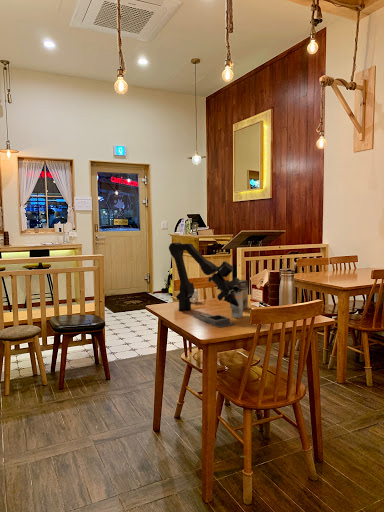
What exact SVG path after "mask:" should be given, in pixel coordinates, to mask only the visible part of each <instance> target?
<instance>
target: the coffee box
mask: <svg viewBox="0 0 384 512" xmlns="http://www.w3.org/2000/svg"><path fill="white" fill-rule="evenodd" d="M239 280H240V281H239V282H240V284H238V286H240V287H241V289H240V290H239V292H243V309H246V308H249V280H245V279H239ZM235 286H237V285H235ZM229 308H230V309H232V304H231V303H229Z"/></svg>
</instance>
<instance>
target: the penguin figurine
mask: <svg viewBox="0 0 384 512" xmlns="http://www.w3.org/2000/svg"><path fill="white" fill-rule="evenodd" d="M198 299H199V290H198V289H197V288H195V290H194V294H193V295H192V298H190V301H191V302H192V304H195V303H196V302H197V300H198Z"/></svg>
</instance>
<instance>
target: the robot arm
mask: <svg viewBox="0 0 384 512" xmlns="http://www.w3.org/2000/svg"><path fill="white" fill-rule="evenodd" d="M168 250H169V252H170V255H171V257H173V259H174V261H175V266H176V270H177V273H178V277H179V282H180V283H179V293H177V294H176V296H175V297H176V298H175V299H176V300H177V301H178V311H187V312H188V311H191V309H192V303H191V302H192V301H190V298H192V295H193V294H194V290H195V289H196V287H195V286H194V283H193V282H191V281H190V280H189V277H188V274H187V273H188V272H187V269H186V265H185V261H184V251H186V252H187V253H188V254H189V255H190V256H191V258H192V259H194V261H195V262H196V263H197V264H198V265H199V267H200V269H201V271H202V272H203V274H204V275H205V276H208V283H211V282H213V283H214V284H215V285H216V289H217V290H219V291H220V293H219V294H218V295H217V300H218V301H220V302H221V301H224V302H227V303H229V304H230V303H231V304H233V305H235V306H238V303H237V302H236V300H235V299H234V297H233V292H239V290H240V289H241V287H240V286H238V284H240V282H239V281H240V280H241V279H239V277H237V276H236V277H233V278H232V280H226V279H225V278H227V277H229V275H230V274H231V273H232V272H233V271H234V270H235V269H234V267H233V265H232V264H230V263H228V262H227V261H223V262H221V264H220V265H219V266H217V265H216V264H214V262H212V261H210V260H208V259H207V258H205V257H204V255H203V254H201V253H200V251H199V250H197V248H196V247H195V246H194V245H193V244H192V243H191V242H187V243H181V242H178V241H177V242H172V243H170V244H169V246H168ZM210 275H211V276H210ZM235 285H237V286H235ZM223 298H224V299H223Z"/></svg>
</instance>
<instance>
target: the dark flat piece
mask: <svg viewBox="0 0 384 512" xmlns="http://www.w3.org/2000/svg"><path fill="white" fill-rule="evenodd" d="M192 318H195V319H197V320H199V321H202V322H205V323H207V324H210V325H212V326H215V327H217V328H219V327H220V328H224V327H230V326H234V325H235V323H234V322H231V318H230V317H227V316H224V315H222V314H216V315H212V314H210V313H200V314H196V315H193V316H192Z"/></svg>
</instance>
